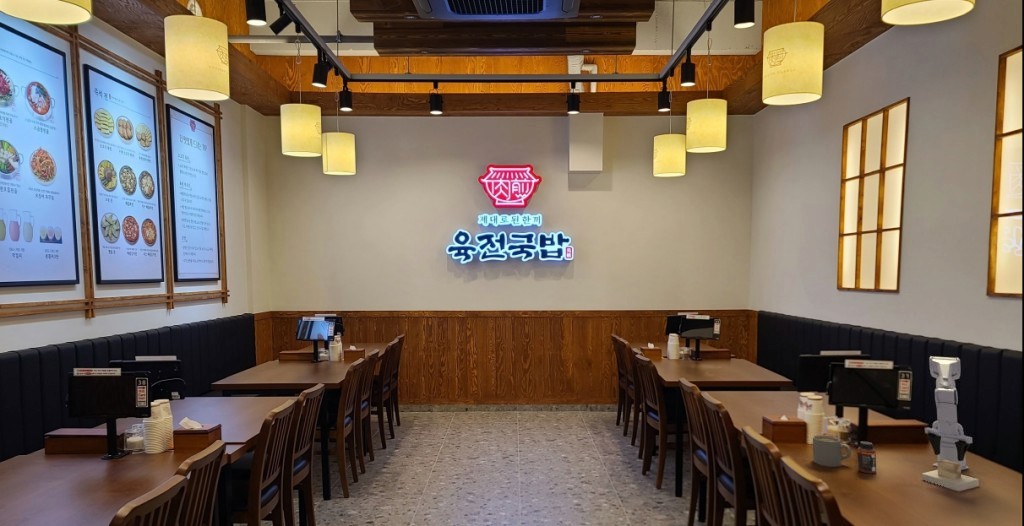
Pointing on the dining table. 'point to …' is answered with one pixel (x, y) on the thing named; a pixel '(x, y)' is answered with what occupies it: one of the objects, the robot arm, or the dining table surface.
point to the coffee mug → (829, 451)
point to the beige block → (951, 481)
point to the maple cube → (949, 469)
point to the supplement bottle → (866, 458)
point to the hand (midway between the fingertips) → (948, 457)
